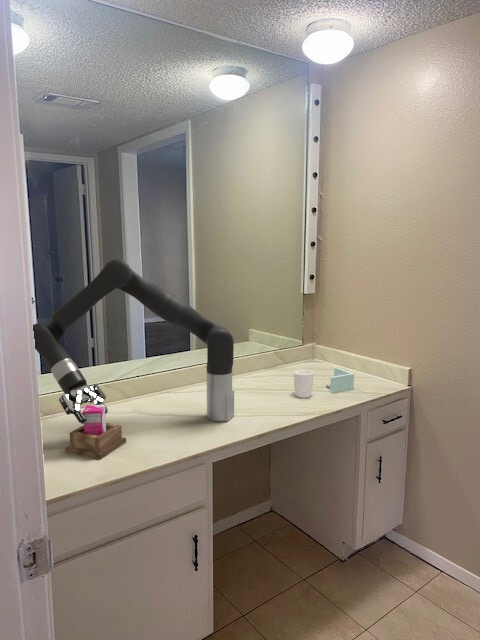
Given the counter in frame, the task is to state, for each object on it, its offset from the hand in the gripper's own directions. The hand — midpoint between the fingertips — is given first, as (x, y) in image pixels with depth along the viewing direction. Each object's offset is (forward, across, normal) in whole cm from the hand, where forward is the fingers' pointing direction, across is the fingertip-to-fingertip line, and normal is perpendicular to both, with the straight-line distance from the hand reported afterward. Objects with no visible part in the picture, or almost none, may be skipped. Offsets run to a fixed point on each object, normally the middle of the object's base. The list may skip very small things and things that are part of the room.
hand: (95, 417), depth 150 cm
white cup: (+31, +81, -17) cm, 88 cm away
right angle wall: (+36, +98, -21) cm, 107 cm away
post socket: (+7, 0, +7) cm, 10 cm away
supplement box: (+6, 0, +6) cm, 8 cm away
